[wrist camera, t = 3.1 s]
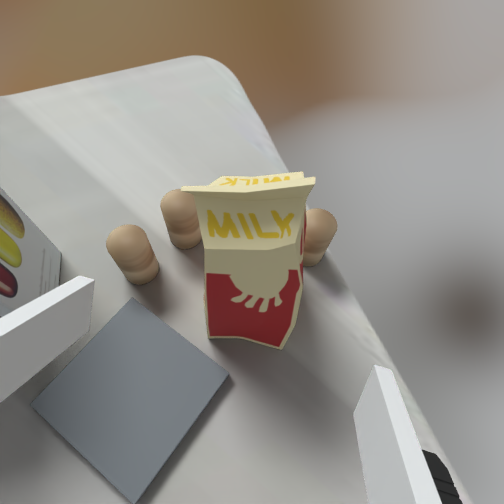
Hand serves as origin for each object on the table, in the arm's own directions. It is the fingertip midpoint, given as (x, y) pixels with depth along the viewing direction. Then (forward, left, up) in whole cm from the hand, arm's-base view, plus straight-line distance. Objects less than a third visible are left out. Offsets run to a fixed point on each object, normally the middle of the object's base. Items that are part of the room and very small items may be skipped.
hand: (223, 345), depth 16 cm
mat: (-7, -5, -18) cm, 20 cm away
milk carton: (-4, +8, -19) cm, 20 cm away
